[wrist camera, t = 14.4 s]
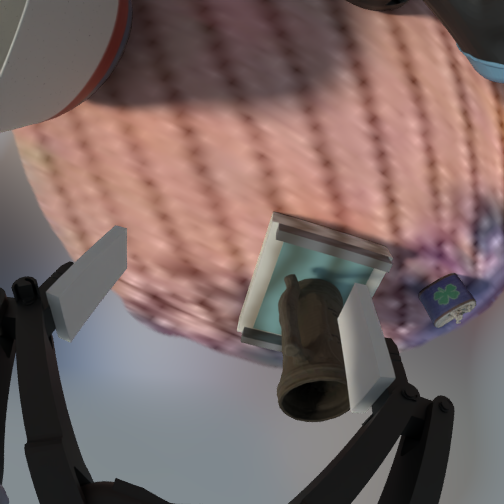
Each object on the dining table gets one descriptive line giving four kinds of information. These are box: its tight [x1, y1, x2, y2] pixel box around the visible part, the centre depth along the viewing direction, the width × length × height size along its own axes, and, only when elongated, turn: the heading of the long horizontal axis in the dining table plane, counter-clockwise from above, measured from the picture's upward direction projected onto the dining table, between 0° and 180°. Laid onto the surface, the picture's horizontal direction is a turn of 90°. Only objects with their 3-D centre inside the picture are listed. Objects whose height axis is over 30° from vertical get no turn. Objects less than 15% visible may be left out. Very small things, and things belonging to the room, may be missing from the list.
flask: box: [419, 273, 476, 328], centre depth 45 cm, size 9×3×11 cm, turn 122°
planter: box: [0, 0, 133, 133], centre depth 23 cm, size 27×27×27 cm
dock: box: [237, 212, 393, 352], centre depth 49 cm, size 20×22×6 cm
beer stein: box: [277, 274, 350, 422], centre depth 40 cm, size 15×11×20 cm
